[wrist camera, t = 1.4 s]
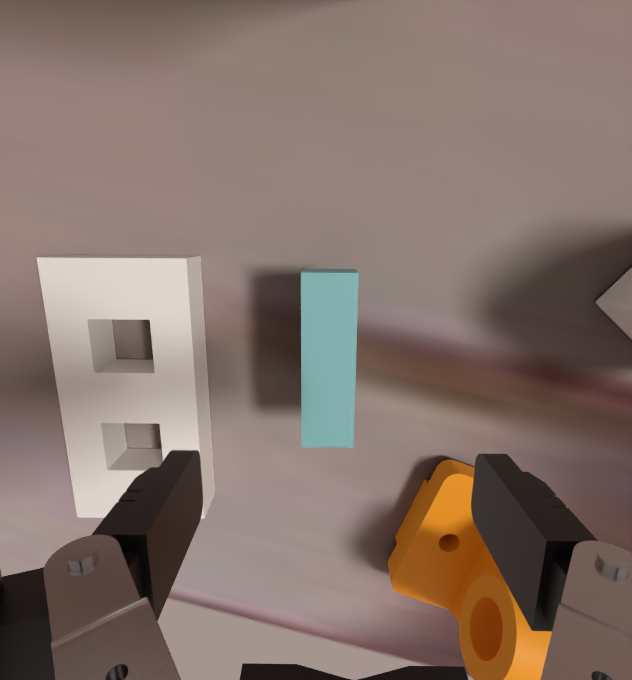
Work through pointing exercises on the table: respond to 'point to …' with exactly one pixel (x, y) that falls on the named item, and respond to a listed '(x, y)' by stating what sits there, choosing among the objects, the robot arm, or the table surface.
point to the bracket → (464, 579)
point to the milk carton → (619, 302)
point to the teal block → (328, 356)
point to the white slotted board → (127, 368)
